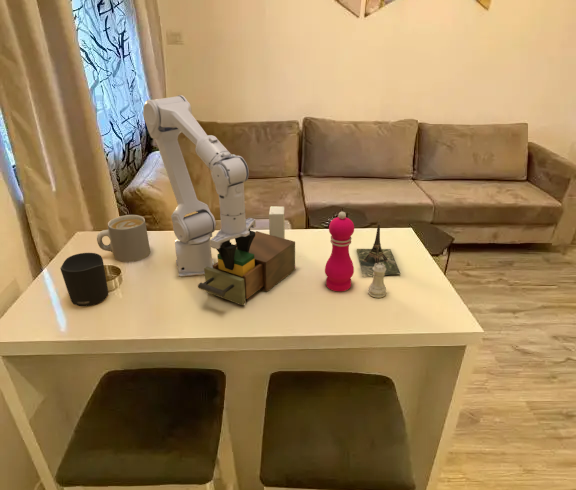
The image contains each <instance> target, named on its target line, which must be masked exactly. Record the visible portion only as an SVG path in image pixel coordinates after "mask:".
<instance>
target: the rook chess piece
mask: <svg viewBox="0 0 576 490" xmlns="http://www.w3.org/2000/svg"><path fill="white" fill-rule="evenodd" d="M373 270H374V273H373V275H374V276H372V277H373V278H372V281H371V283H370V284H369V286H368V289H367V293H368V294H369V296H371V297H372V298H375V299H380V298H384V297H385V296H386V295H387V286H386V285H385V279H384V278H385V276H386V275H385V274H384V272H385V271H386V268H385V265H384V264H382V265H381V263H379V264H378V265H377V263H376V264H375V265H374V267H373Z"/></svg>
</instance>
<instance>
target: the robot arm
mask: <svg viewBox="0 0 576 490" xmlns="http://www.w3.org/2000/svg"><path fill="white" fill-rule="evenodd" d="M142 116H143V119H144V123H145V126H146V127H147V132H148V134H149V136H150V138H151V139H153V140H155V143H156V145H157V147H158V151H159V154H160V157H161V159H162V163H163V165H164V168H165V171H166V174H167V178H168V180H169V183H170V185H171V189H172V191H173V195H174V197H175V200H176V203H177V206H176V208H175V209H174V210H173V212H172V214H171V216H170V217H171V221H172V229H173V233H174V235H175V237H176V239H175V240H174V248H175V255H176V256H175V257H176V260H175V264H176V267H177V270H178V277H179V278H180V277H181V278H183V277H191V276H201V275H205V273H204V268H205V267H207V266H208V267H211V268H213V265H214V264H215V262H214V258H213V256H212V255H213V254H212V249H215V250H216V251H217V253H218V254H220V256H221V258H222V260H223V263H224V266H225V268H227V269H230V270H233V269H234V255H235V251H236V248H237V249H238V250H241V251H245V252H248V253H249V249H250V246H251V243H252V241H253V239H254V237H255V232H256V231H253V230H251V228H252V229H254V228H256V227H257V221H256V218H253V217H248V218H246V200H245V199H246V198H245V197H246V196H245V182H247V181H248V180H249V176H250V171H249V170H250V169H249V166H248V164H247V162H246V160H245V159H244V157H243V156H241V155H236V154H234V153H233V154H232V153H231V152H230V151H229V150H228V149H227V147H225V145H224V144H223V143H221V141H220V140H219V139H218V138H217V137H216V136H215V135H212V134H209V135H208V134H207V132H206V131H205V130H204V128H203V127H202V126H201V124H200V123H199V121H198V120H197V119H196V118H195V116H194V115H193V111H192V105H191V103H190V102H189V101H188V99H187V98H186V97H185V96H184V95H182V94H179V95H176V96H169V97H163V98H162V97H161V98H157V99H155V98H154V99H147V100H145V102H144V105H143V111H142ZM181 133H182V134H183V135H184V136H185V137H186V138H187V139H188V140H189V141H190V142H192V143H193V144H194V145H195V153H196V156H198V157H199V159H200V160H201V161H202V162H203V163H204V165H205V166H206V167H207V168H208V169H209V171H211V172H210V174H211V179H212V181H213V184H214V186H215V192H216V194H217V195H218V203H219V214H220V215H219V216H220V217H219V218H220V227H221V228H220V229H219V231H218V232H216V234H215V235H214V236H213V234H214V233H215V231H216V228H217V222H216V218H215V216H214V214H213V213H212V211H211V210H210V207H209V205H208V204H207V203H205V202H203V201H201V200H199V199H198V197H197V194H196V191H195V188H194V185H193V182H192V179H191V176H190V173H189V170H188V167H187V163H186V160H185V158H184V154H183V152H182V149H181V146H180V143H179V140H178V138H179V136H180V134H181ZM195 212H196V213H195ZM231 240H235V241H234V242H235V244H236V245H235V244H233V243H232V242H231Z"/></svg>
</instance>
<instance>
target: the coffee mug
mask: <svg viewBox="0 0 576 490" xmlns="http://www.w3.org/2000/svg"><path fill="white" fill-rule="evenodd" d="M107 228H108V229H103V230H101V231H99V232H98V233H97V235H96V242H97V245H98V247H99V248H100V249H101V250H102V251H105V252H110V253H112V254H113V257H114V259H115V260H116V261H119V262H122V263H134V262H138V261H141V260H144V259H146V258H148V257H149V256H150V254H151V247H150V241H149V235H148V230H147V224H146V219H145V217H144V216H142V215H139V214H125V215H120V216H116V217H114V218H112V219H110V220H109V221H108V222H107ZM104 237H108V238H109V240H110V241H109V243H108V244H105V243H104V242H103V238H104Z"/></svg>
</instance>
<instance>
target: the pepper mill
mask: <svg viewBox="0 0 576 490" xmlns="http://www.w3.org/2000/svg"><path fill="white" fill-rule="evenodd" d="M328 231H329V234H330V235H331V236H330V243H331V246H332V247H331V254H330V256H329V257H328V259H327V261H326V263H325V266H324V274H325V276H326V281H325V285H326V287H327V288H328V289H329V290H331V291H334V292H345V291H348V290H349V289H350V288H351V287H352V277H353V275H354V272H355V268H354V262H353V260H352V258H351V256H350V255H351V254H350V245H351V244H352V239H353V238H352V235H353V234H354V232H355V224H354V222H353V220H352V219H350V218H349V217H347V214H346V212H345V211H340V212H339V213H338V216H337V217H335V218H333V219H331V221H330V222H329V225H328Z"/></svg>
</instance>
